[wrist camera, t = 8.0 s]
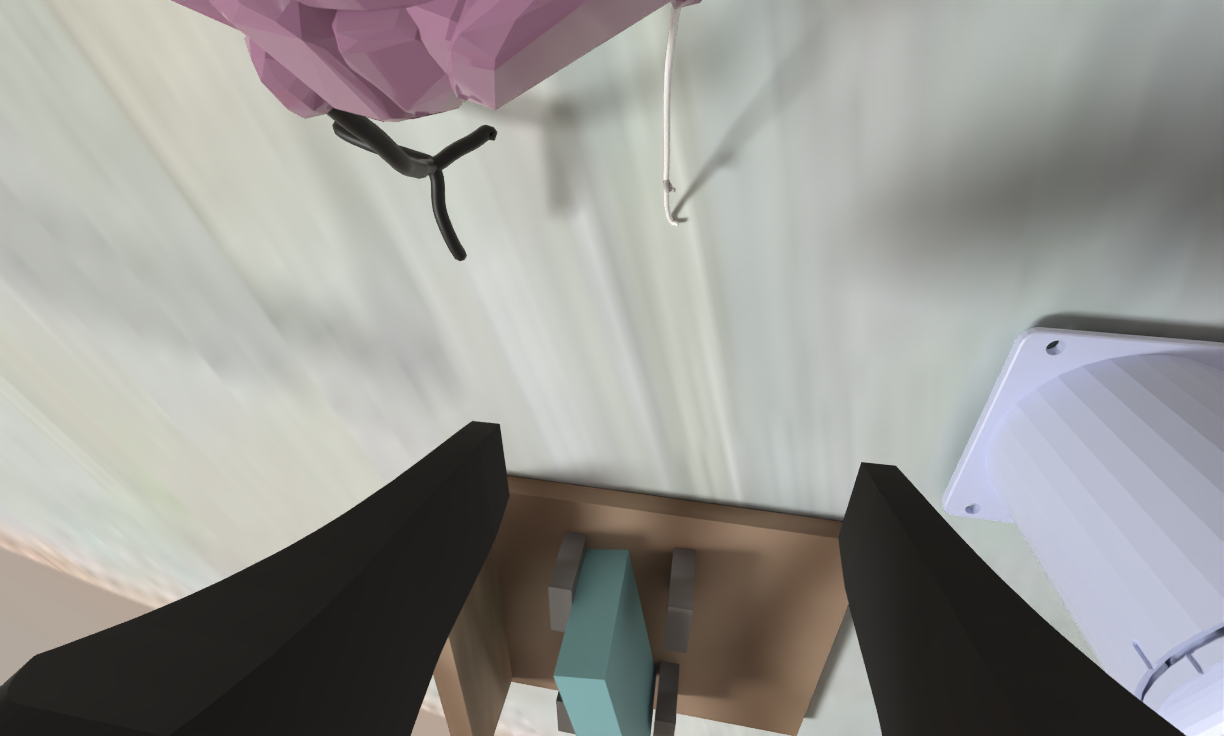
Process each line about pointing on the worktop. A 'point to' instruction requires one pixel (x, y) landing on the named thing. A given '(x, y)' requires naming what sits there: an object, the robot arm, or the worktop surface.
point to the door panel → (607, 651)
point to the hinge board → (653, 605)
